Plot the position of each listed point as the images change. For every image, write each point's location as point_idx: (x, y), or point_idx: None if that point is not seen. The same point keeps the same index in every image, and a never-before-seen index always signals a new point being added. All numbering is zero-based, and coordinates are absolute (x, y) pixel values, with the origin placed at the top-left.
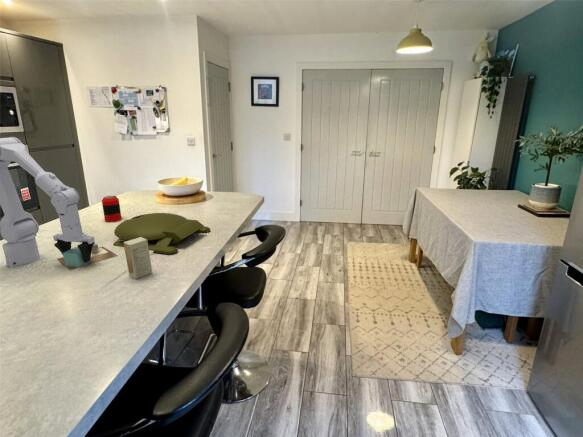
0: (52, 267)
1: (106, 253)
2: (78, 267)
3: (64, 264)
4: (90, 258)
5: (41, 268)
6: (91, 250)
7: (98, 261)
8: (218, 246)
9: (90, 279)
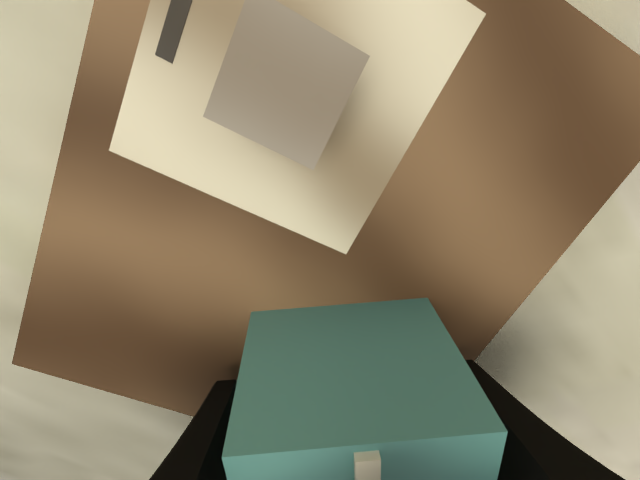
0: (140, 427)
1: (480, 63)
2: None
3: None
4: (436, 321)
5: (74, 457)
6: (582, 454)
7: (521, 297)
8: None
9: None
